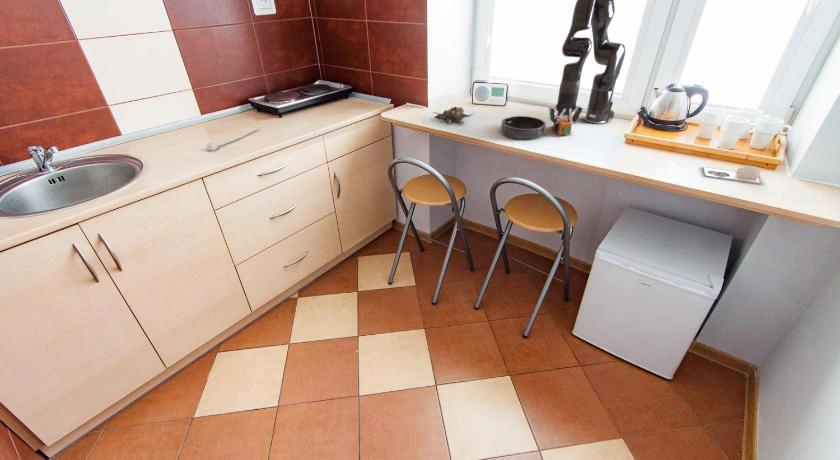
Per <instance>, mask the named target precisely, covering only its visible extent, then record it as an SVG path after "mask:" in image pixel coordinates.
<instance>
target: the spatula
mask: <svg viewBox="0 0 840 460" xmlns="http://www.w3.org/2000/svg"><path fill="white" fill-rule="evenodd" d="M258 130H259V127H254V128H253V127H252V128H251V129H247V130H245V131H243V132H241V133H238V134H236V135H234V136H232V137H229V138H227V139H226V138H225V139H224V140H221V141H218V142H209V143H207V144H206V149H207V150H208V151H210V152H211V151H217V149H218V148H219V147H221V146H223V145H228V144H230V143H232V142H235V141H237V140H240V139H241V138H244V137H246V136H248V135H250V134H251V133H255V132H256V131H258ZM235 138H236V139H235ZM228 141H229V142H228ZM223 143H224V144H223ZM218 145H219V146H218ZM215 147H216V148H215ZM208 148H210V149H208ZM212 148H213V149H212Z"/></svg>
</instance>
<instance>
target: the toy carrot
mask: <svg viewBox="0 0 840 460" xmlns="http://www.w3.org/2000/svg"><path fill="white" fill-rule="evenodd" d="M572 125H573V123H572V124H571V123H570V122H569V121H568V119H567V118H565V117H562V118H561V119H560V121H559V126H558V132H556V133H557V134H558V135H560V136H565V135H566V136H567V135H568V136H569V135H570V134H571V132H572ZM552 127H553V128H554V122H552ZM570 136H571V135H570Z"/></svg>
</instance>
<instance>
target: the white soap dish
mask: <svg viewBox="0 0 840 460" xmlns="http://www.w3.org/2000/svg"><path fill="white" fill-rule="evenodd" d="M703 173H704V176H705V177H708V178H714V179H722V180H728V181H734V182H735V181H736V182H741V183H748V184H749V183H750V184H755V185H761V183H762V182H761V180H760V179H759V178H760V175H761V170H760V169H758V167H757V166H755V165H745V166H743V167H739V168H737V170H736V171H731V170H724V169H717V168H710V167H703Z"/></svg>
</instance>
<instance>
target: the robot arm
mask: <svg viewBox="0 0 840 460" xmlns="http://www.w3.org/2000/svg"><path fill="white" fill-rule="evenodd" d="M615 7H616V6H615V0H576V2H575V5H574V8H573V14H572V18H571V19H572V20H571V24H570V28H569V31H568V33H567V35H566V38H565V39H564V42H563V45H562V48H561V51H562V55H563V56H564V57H567V58H578V60H577V61H573V62H569V63H568V62H567V63H566V64H564V67H563V70H562V77H561V82H560V84H559V90H558V97H557V103H556V105H555V106H554V107H552V106H551V107H550V106H549V108H548V112H549V118H550V121H551V122H552V123H554V127H553V131H554V132H555V133H557V132H558V126H559V121H560V119H561V118H563V117H565V116H566V119H567V120H568V121H569V122H570V123H571V124H572V125H573V123H574V122H578V119H579V117H580V115H581V113H582V111H583V108H582V106H579V105H578V106H577V101H578V96H579V92H580V86H581V78H582V72H583V69H584V65H585V62H586V60H587V58H588V57H589V55H590V52H591V50H592V47H593V55H594V56H593V57H594V61H595V63H596V64H598V65H601V66H605V69H604V71H602V72H601V73H596V74H595V75H594V77H593V80H592V85H591V90H590V95H589V99H588V104H587V108H586V113H585V118H584V121H585V122H586V123H587V122H588V123H589V124H590V123H591V124H597V125H598V124H605V123H608V122H609V120H613V119H614V117H615V111H613V110H612V107H613V103H614V100H613V95H614V91H615V87H616V83H617V79H618V78H619V75H620V73H621V70H622V67H623V63H624V60H625V58H626V57H625V56H626V47H625V44H623V43H620V42H614V41H610V40H609V33H608V30H609V27H610V25H611V22H612V20H613V18H614V16H615V12H616V11H615V10H616V8H615ZM590 29H591V33H592V39H591V38H589V37H583V36H582V37H580V36H579V37H576V36H575V35H576V34H578V33H579V32H583V31H588V30H590ZM556 112H557V113H556ZM573 112H574V114H573ZM555 113H556V115H555Z"/></svg>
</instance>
